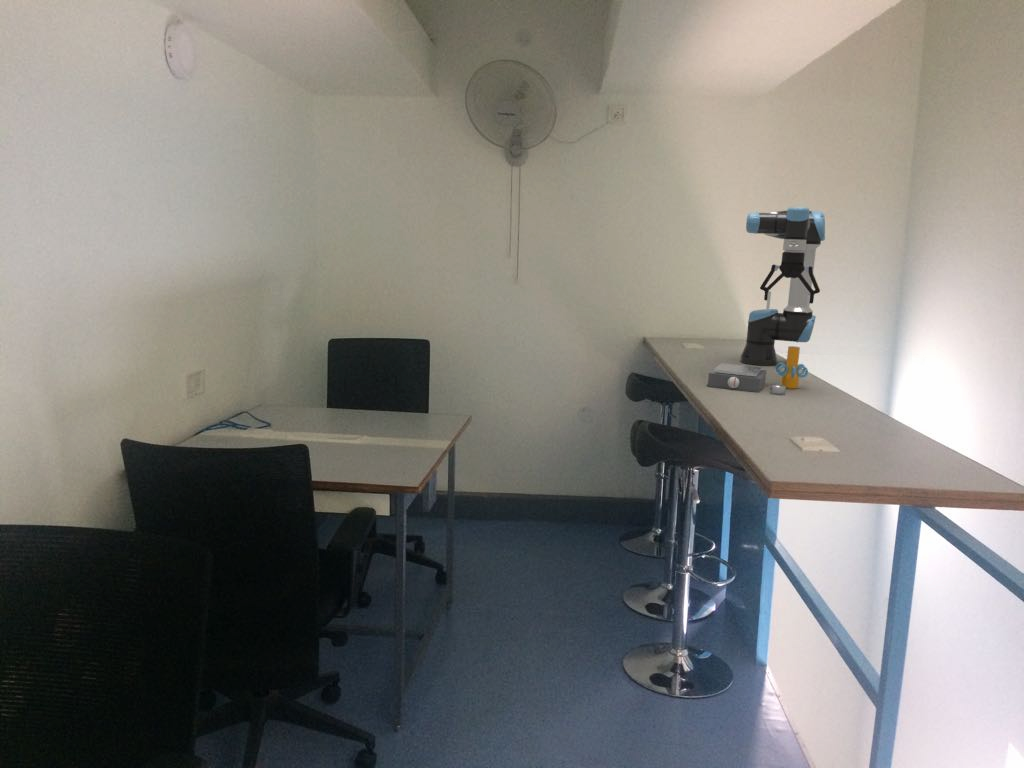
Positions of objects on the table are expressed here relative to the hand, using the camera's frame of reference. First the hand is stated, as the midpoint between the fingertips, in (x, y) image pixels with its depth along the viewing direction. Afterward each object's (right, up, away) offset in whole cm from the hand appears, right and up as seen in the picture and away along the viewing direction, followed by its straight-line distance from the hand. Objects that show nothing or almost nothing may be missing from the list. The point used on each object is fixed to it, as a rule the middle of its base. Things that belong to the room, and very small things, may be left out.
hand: (787, 311), depth 271 cm
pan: (-16, -25, +6) cm, 31 cm away
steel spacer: (-6, -30, -6) cm, 31 cm away
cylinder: (+3, -28, +6) cm, 28 cm away
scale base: (-16, -27, +7) cm, 32 cm away
